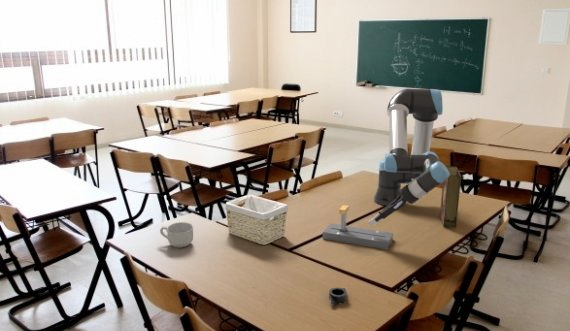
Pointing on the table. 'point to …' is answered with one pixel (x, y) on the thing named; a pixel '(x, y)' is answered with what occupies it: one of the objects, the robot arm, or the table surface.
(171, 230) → the teacup
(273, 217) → the storage basket
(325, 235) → the fader console
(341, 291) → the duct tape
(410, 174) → the robot arm
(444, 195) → the book
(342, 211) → the fader knob
